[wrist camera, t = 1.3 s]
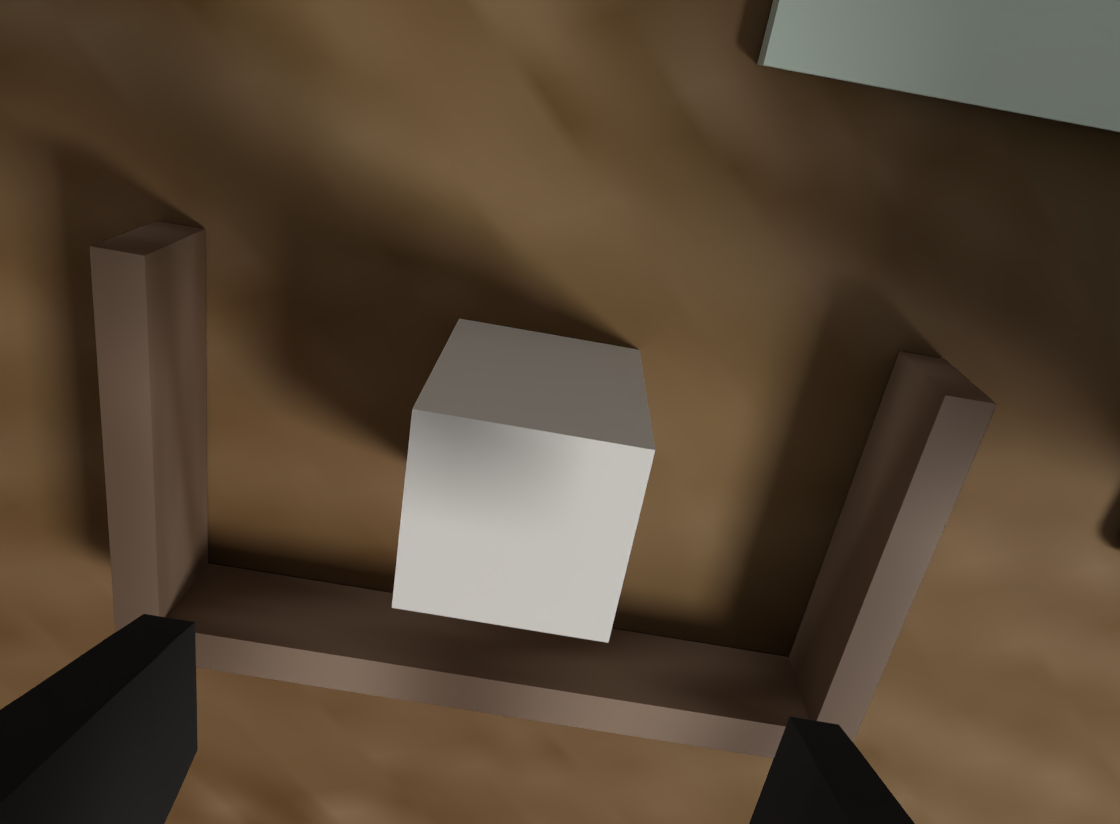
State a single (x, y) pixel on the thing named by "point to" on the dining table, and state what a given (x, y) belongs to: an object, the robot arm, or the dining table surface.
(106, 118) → the dining table surface
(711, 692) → the brown u-shaped bracket
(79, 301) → the dining table surface
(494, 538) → the cream block
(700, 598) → the dining table surface
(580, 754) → the dining table surface
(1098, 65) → the pad
